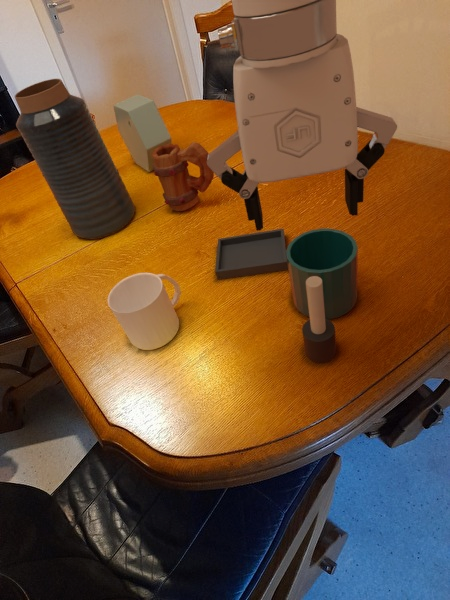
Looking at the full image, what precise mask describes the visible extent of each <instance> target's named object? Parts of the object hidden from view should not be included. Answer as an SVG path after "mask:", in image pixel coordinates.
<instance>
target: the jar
mask: <svg viewBox="0 0 450 600" xmlns="http://www.w3.org/2000/svg"><path fill="white" fill-rule="evenodd" d="M358 249H359V248H358V244H357V241H356V240H355V239H354V237H352V235H350V234H349V233H347V232H345V231H343V230H339V229H336V228H335V229H334V228H317V229H311V230H308V231H306V232H302V233H301V234H299V235H297V236H296V237H295V238H293V239H292V240H291V242H290V243H288V246H287V247H286V255H287V263H288V275H289V283H290V289H291V296H292V301H293V305H294V308H296V310H297V311H298V312H299V313H301V314H302V315H303V316H306V317H308V318H310V316H309V307H308V299H307V290H306V280H307V279H308V278H309V277H312V276H317V277H320V278H321V279H322V284H323V298H324V311H325V318H326V319H328V320H333V319H337V318H340V317H342V316H344V315H346V314H347V313H349V312H350V311H351V310H352V309H353V308H354V306H355V305H356V303H357V299H358V269H359V268H358V266H359V265H358V263H359V262H358V261H359V258H358V257H359V256H358V255H359V252H358V251H359V250H358Z"/></svg>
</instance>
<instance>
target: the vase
mask: <svg viewBox="0 0 450 600" xmlns="http://www.w3.org/2000/svg"><path fill="white" fill-rule="evenodd" d="M14 99H15V101H16V104H17V107H18V109H19V111H20V114H19V116H18V118H17V121H16V122H15V126H16V128H17V130H18V132H19V133H20V135H21V137H22V138H23V141H24V143H25V144H26V147H27V148H28V150H29V152H30V153H31V156H32V158H33V159H34V161H35V163H36V165H37V167H38V168H39V171H40V173H41V174H42V176H43V178H44V180H45V182H46V184H47V186H48V188H49V189H50V191H51V192H52V195H53V197H54V199H55V201H56V202H57V205H58V207H59V208H60V211H61V212H62V214H63V216H64V218H65V220H66V222H67V223H68V225H69V228H70V229H71V231H72V232H73V234H74V235H75V236H76V237H79V238H81V239H86V240H97V239H102V238H105V237H108V236H111V235H113V234H115V233H117V232H119V231H121V230H122V229H123V228H124V227H126V226H127V225H128V224H129V223H130V222H131V221H132V219H133V217H134V214H135V213H136V206H135V204H134V201H133V199H132V197H131V195H130V193H129V191H128V189H127V187H126V184H125V183H124V181H123V179H122V176H121V174H120V172H119V170H118V169H117V166H116V165H115V163H114V161H113V159H112V156H111V154H110V152H109V151H108V148H107V146H106V144H105V142H104V140H103V138H102V135H101V133H100V131H99V128H97V125H96V123H95V121H94V119H93V117H92V115H91V113H90V110H89V109H88V107H87V104H86V102H85V100H84V99H83V98H82V97H80V96H77V95H73V94H71V93H70V92H69V90H68V89H67V87H66V85H65V83H64V82H63V81H62V79H61V78H49V79H46V80H43V81H39V82H37V83H34V84H31V85H29V86H26V87H25V88H23V89H21V90H19V91H18V92H17V93H15V95H14Z"/></svg>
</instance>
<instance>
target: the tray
mask: <svg viewBox="0 0 450 600" xmlns="http://www.w3.org/2000/svg"><path fill="white" fill-rule="evenodd" d="M286 250H287V245H286V236H285V229H284V228H277V229H270V230H265V231H257V232H252V233H247V234H240V235H239V234H238V235H234V236H227V237H221V238H217V247H216V257H215V266H214V272H215V277H216V280H217V281H218V280H226V279H233V278H241V277H247V276H255V275H262V274H268V273H269V274H270V273H275V272H283V271H289V269H288V262H287V255H286Z"/></svg>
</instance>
